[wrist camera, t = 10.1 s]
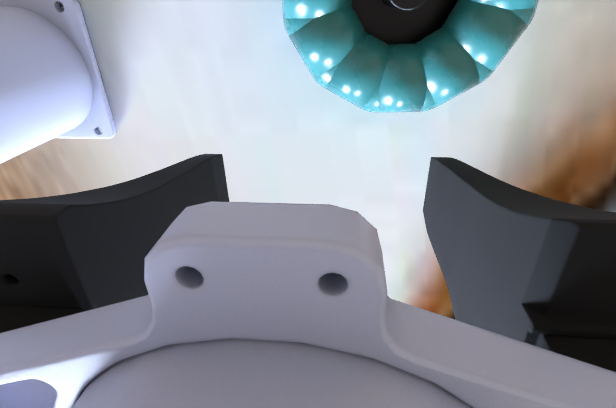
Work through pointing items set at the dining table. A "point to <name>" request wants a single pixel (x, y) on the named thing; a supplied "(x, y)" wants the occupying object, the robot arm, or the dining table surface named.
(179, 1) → the dining table surface
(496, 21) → the ring
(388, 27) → the hook stand
